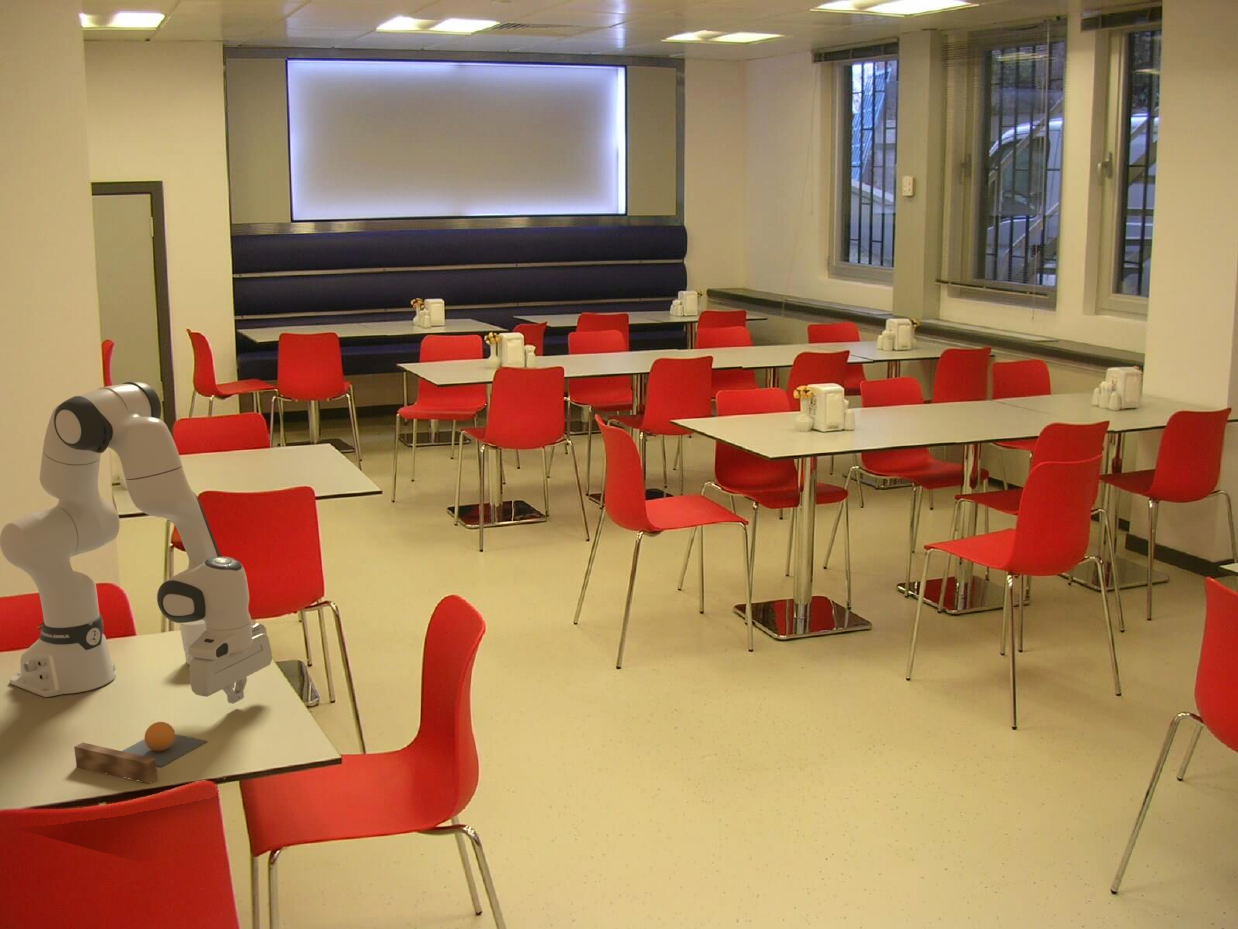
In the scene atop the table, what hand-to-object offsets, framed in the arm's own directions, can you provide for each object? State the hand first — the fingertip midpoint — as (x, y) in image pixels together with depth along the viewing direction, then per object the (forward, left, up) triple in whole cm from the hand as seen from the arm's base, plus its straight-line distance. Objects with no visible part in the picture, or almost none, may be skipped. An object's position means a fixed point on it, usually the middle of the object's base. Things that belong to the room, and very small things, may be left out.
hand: (235, 700), depth 270 cm
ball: (+1, -21, +1) cm, 21 cm away
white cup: (-26, +18, -2) cm, 32 cm away
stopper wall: (0, -32, -2) cm, 32 cm away
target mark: (0, -21, -2) cm, 21 cm away
